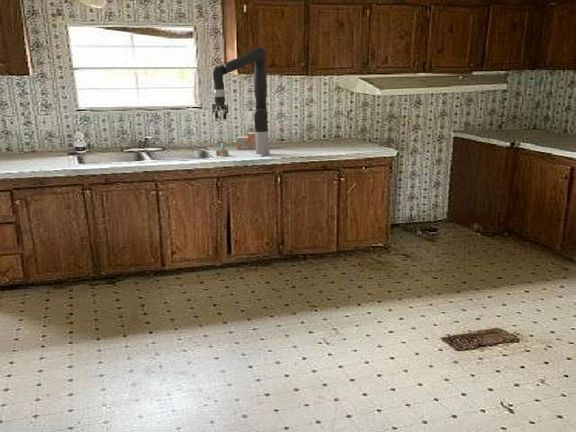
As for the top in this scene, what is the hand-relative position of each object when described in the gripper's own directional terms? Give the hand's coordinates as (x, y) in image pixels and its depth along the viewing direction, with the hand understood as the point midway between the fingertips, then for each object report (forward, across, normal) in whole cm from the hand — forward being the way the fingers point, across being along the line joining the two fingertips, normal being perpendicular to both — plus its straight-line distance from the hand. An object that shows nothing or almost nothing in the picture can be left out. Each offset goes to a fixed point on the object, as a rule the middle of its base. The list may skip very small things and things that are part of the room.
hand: (220, 118), depth 396 cm
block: (+26, -4, +3) cm, 26 cm away
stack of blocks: (+27, +6, -34) cm, 44 cm away
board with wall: (+27, -4, +3) cm, 27 cm away
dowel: (+26, -4, +3) cm, 26 cm away
